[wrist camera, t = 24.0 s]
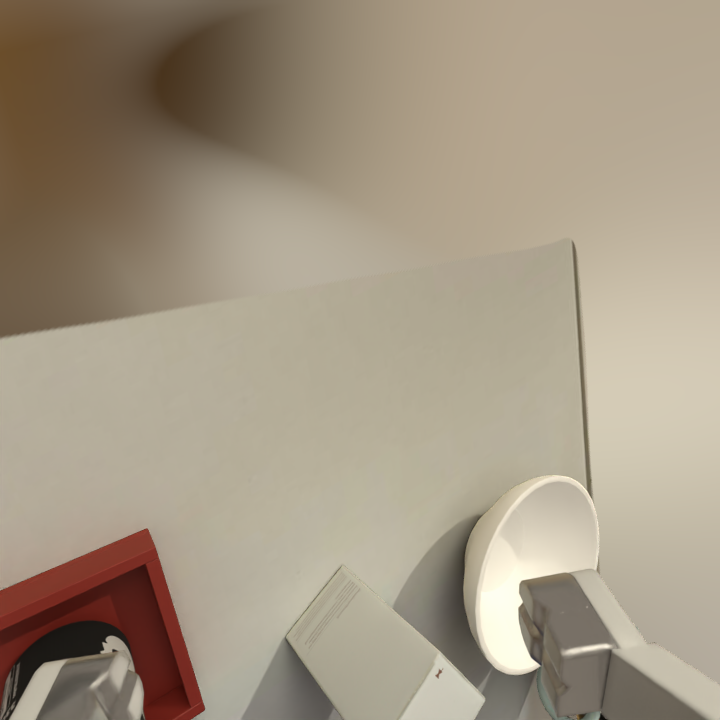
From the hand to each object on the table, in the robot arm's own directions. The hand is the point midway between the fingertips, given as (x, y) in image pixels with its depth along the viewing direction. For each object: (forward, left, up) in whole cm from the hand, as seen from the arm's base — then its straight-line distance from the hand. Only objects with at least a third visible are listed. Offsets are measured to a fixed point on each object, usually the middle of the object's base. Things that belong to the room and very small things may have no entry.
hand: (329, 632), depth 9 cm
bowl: (+35, +18, -25) cm, 46 cm away
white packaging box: (+25, +1, -25) cm, 35 cm away
